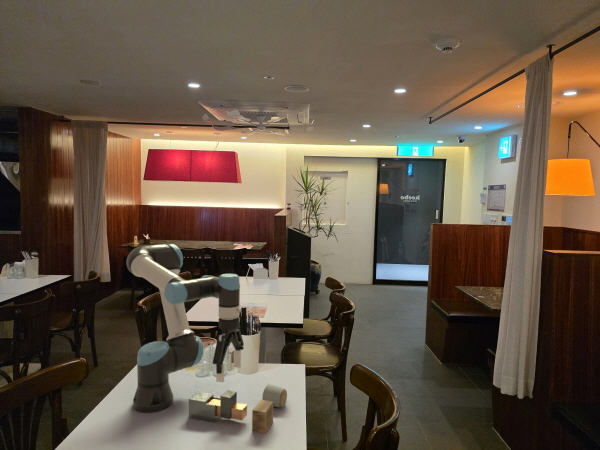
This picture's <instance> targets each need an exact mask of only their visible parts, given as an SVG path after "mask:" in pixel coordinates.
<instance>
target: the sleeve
mask: <svg viewBox="0 0 600 450" xmlns="http://www.w3.org/2000/svg"><path fill="white" fill-rule="evenodd" d="M210 399H217V400H220V396H215V395H214V393H210V392H209V393H208V392H203V391H196V392H195V393H194V394H193V395H191V396H190V397H189V398H188V418H190V419H194V420H198V421H203V422H204V421H205V422H209V423H216V422H217V421H218V419H220V416H216V405H215V404H209V403H206V402H208V401H209V400H210Z"/></svg>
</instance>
